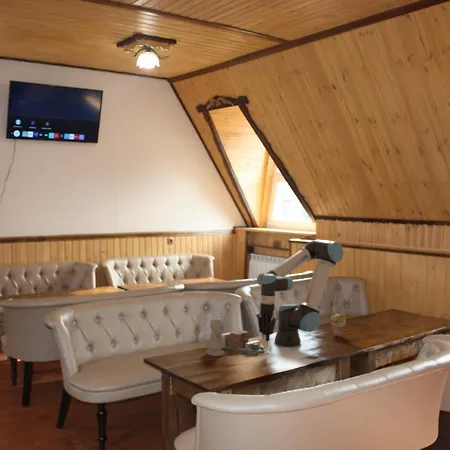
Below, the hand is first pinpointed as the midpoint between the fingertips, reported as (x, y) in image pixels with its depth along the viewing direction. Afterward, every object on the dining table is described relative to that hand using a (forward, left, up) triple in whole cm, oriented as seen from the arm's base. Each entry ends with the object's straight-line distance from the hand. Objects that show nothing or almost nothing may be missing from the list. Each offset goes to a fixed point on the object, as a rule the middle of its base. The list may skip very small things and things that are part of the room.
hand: (265, 346), depth 316 cm
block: (-1, -19, -4) cm, 20 cm away
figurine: (+17, -21, -5) cm, 27 cm away
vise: (0, -18, -5) cm, 19 cm away
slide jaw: (0, -8, -4) cm, 9 cm away
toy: (-68, +2, -5) cm, 69 cm away
